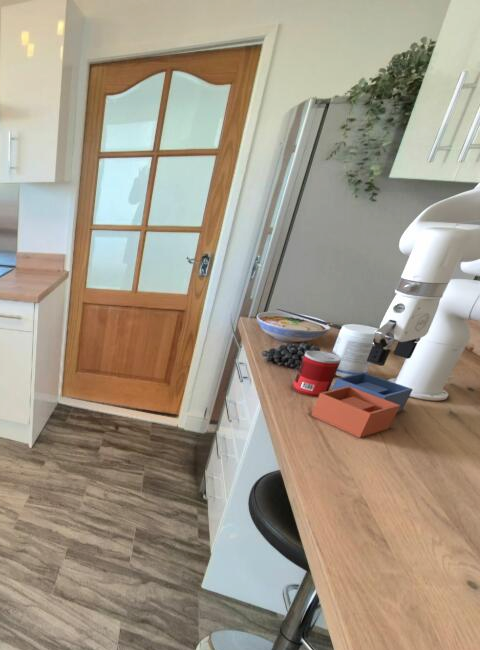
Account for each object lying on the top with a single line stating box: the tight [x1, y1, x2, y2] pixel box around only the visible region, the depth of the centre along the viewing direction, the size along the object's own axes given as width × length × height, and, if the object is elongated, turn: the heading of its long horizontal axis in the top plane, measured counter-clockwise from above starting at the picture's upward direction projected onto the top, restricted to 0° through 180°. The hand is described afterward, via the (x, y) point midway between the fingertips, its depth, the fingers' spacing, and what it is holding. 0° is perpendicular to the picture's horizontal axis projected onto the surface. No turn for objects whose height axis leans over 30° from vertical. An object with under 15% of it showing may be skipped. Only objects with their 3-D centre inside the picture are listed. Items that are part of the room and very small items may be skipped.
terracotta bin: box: [310, 386, 400, 439], centre depth 106 cm, size 11×11×6 cm
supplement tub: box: [331, 323, 379, 378], centre depth 130 cm, size 10×10×15 cm
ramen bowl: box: [256, 308, 343, 344], centre depth 159 cm, size 25×23×8 cm
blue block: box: [357, 382, 389, 395], centre depth 114 cm, size 5×5×5 cm
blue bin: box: [331, 372, 413, 413], centre depth 114 cm, size 11×11×6 cm
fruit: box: [261, 342, 321, 371], centre depth 137 cm, size 9×8×15 cm
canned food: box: [293, 350, 341, 398], centre depth 120 cm, size 8×8×11 cm
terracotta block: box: [340, 397, 376, 413], centre depth 106 cm, size 5×5×5 cm
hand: (388, 359), depth 101 cm, fingers open, 9 cm apart
